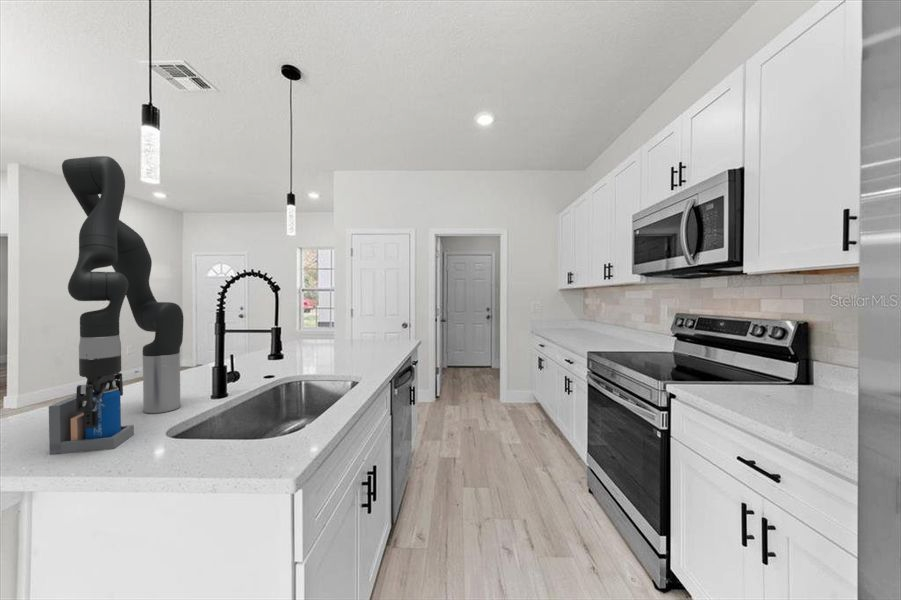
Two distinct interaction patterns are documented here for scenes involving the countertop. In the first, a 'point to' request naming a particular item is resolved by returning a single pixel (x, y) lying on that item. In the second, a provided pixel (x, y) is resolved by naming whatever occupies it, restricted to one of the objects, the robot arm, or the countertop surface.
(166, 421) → the countertop surface
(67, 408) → the grey bracket
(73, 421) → the thin tan plate
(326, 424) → the countertop surface
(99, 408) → the beverage can
